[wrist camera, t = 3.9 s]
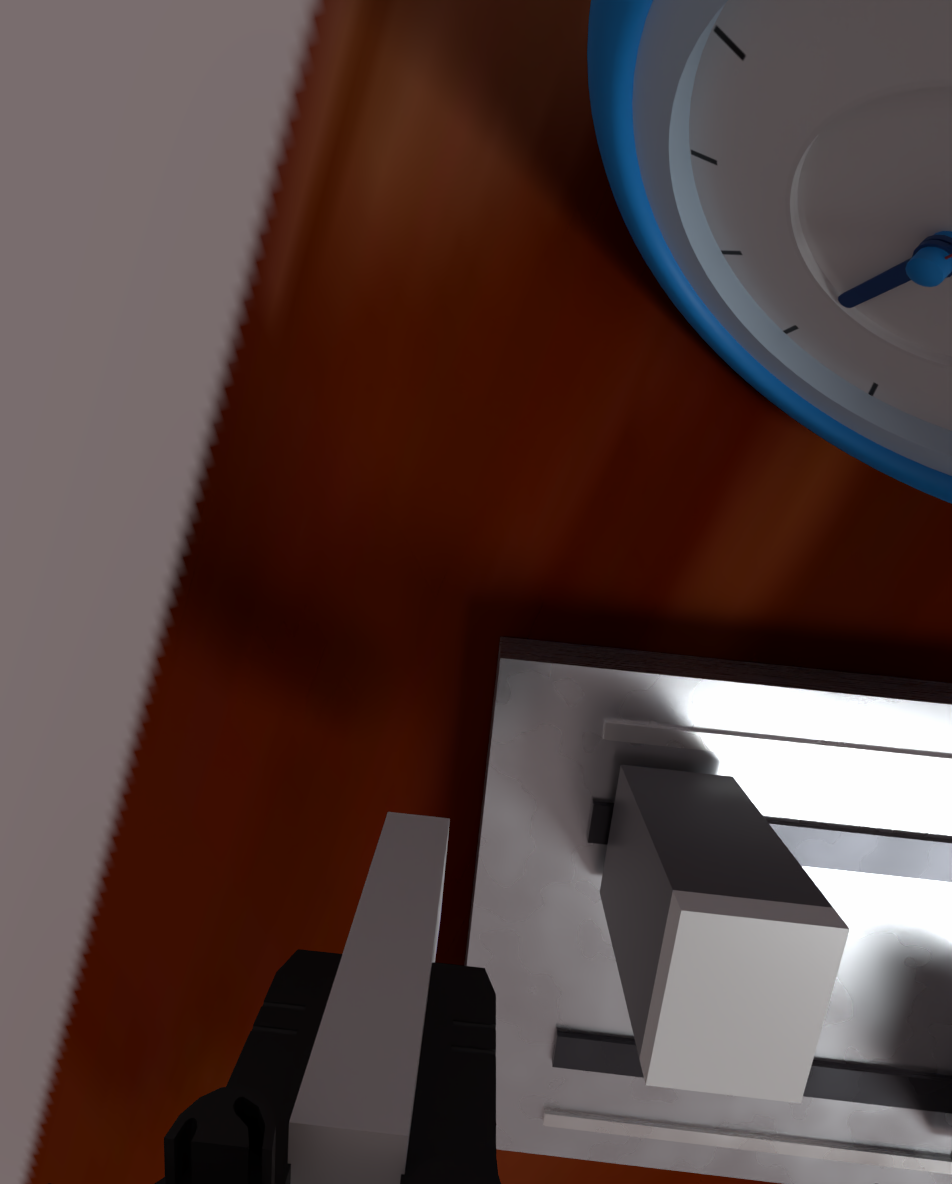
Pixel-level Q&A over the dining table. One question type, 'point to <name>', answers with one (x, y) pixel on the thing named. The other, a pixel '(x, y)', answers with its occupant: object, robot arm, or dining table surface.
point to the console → (812, 834)
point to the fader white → (715, 937)
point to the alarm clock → (797, 201)
